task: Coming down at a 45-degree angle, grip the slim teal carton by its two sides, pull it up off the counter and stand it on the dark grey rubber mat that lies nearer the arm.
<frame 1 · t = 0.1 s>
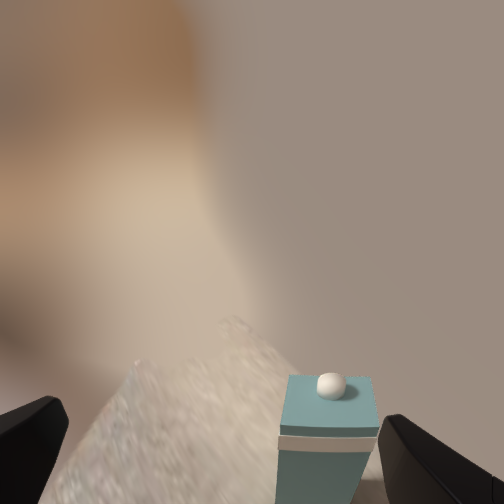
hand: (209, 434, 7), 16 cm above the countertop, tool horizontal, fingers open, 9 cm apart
carton: (310, 497, 18), on the countertop
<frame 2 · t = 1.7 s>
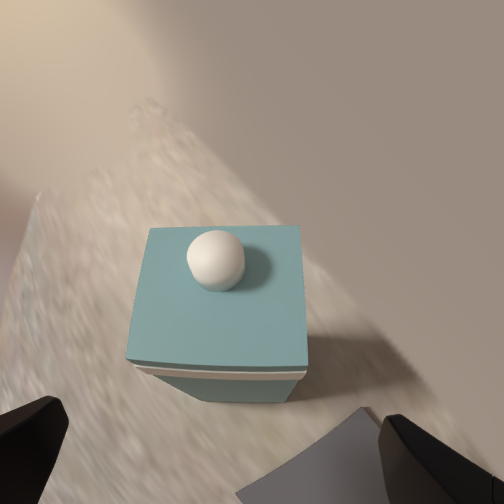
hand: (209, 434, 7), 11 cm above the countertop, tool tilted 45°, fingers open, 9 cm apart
carton: (243, 366, 18), on the countertop
mat: (343, 503, 13), on the countertop
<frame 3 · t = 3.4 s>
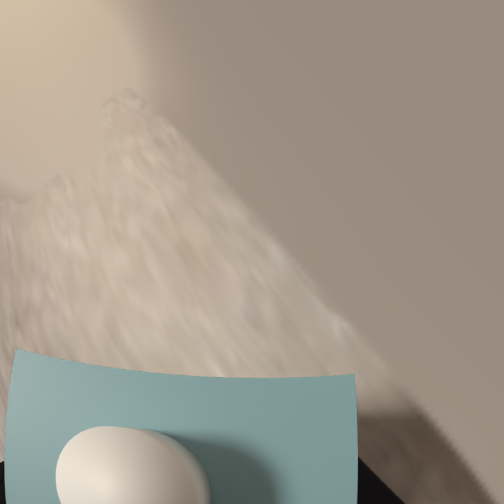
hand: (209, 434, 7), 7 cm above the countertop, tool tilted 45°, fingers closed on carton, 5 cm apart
carton: (233, 459, 12), on the countertop, touching gripper
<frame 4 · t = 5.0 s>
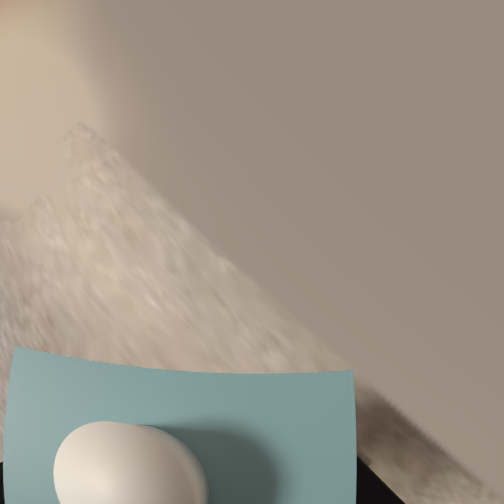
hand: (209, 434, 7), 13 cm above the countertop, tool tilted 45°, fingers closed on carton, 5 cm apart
carton: (233, 458, 12), point 7 cm above the countertop, touching gripper
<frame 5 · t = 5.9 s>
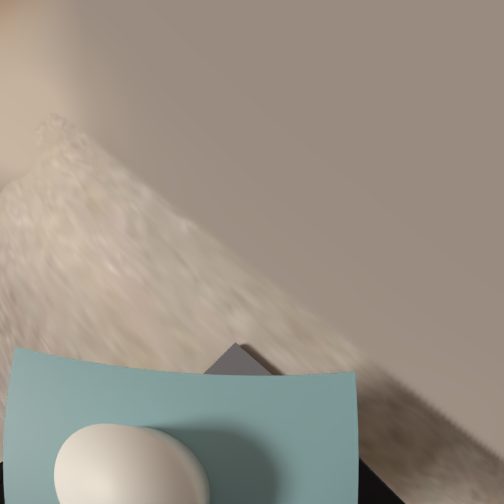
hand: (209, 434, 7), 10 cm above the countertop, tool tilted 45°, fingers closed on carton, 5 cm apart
carton: (233, 458, 12), point 3 cm above the countertop, touching gripper
mat: (239, 451, 14), on the countertop
when the fingers open (8 cm above the countertop, at t = 6.6 s): carton drops 1 cm, resting on mat.
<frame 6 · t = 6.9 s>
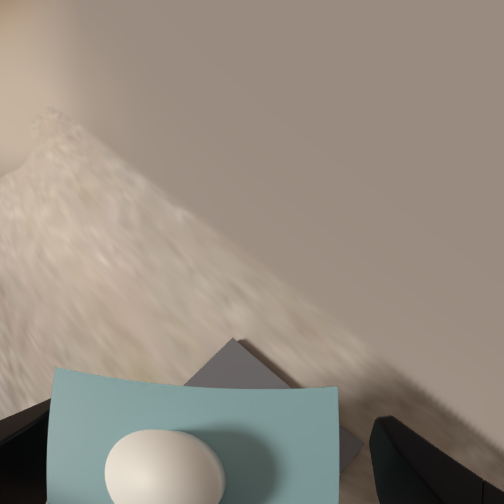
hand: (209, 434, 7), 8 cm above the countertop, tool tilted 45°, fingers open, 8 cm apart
carton: (236, 456, 13), resting on mat
mat: (236, 456, 13), on the countertop
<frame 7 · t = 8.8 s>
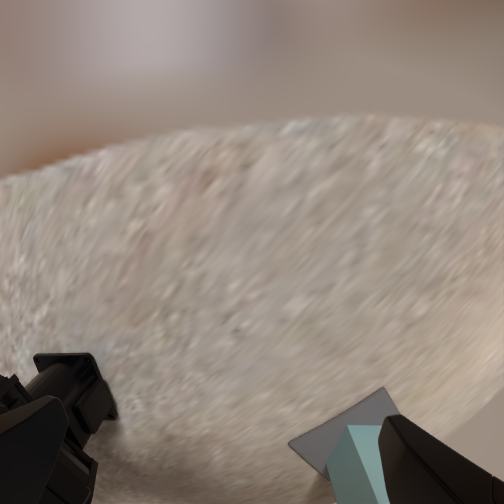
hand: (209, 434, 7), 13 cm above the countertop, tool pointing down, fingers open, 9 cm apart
carton: (358, 445, 22), resting on mat
mat: (357, 442, 23), on the countertop
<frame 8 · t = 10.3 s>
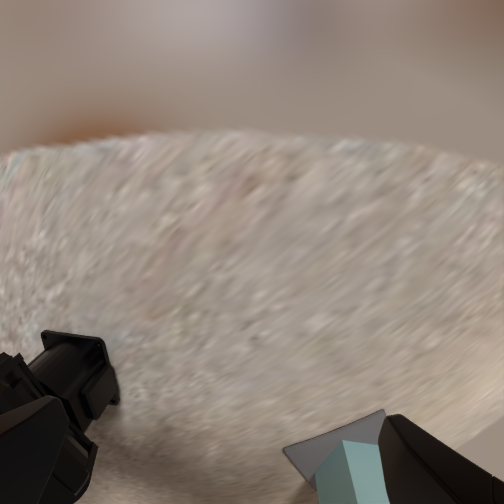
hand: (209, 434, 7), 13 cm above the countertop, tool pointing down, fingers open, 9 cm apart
carton: (348, 460, 23), resting on mat
mat: (348, 456, 23), on the countertop
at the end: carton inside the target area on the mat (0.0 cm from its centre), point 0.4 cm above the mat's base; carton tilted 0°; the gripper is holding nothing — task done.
